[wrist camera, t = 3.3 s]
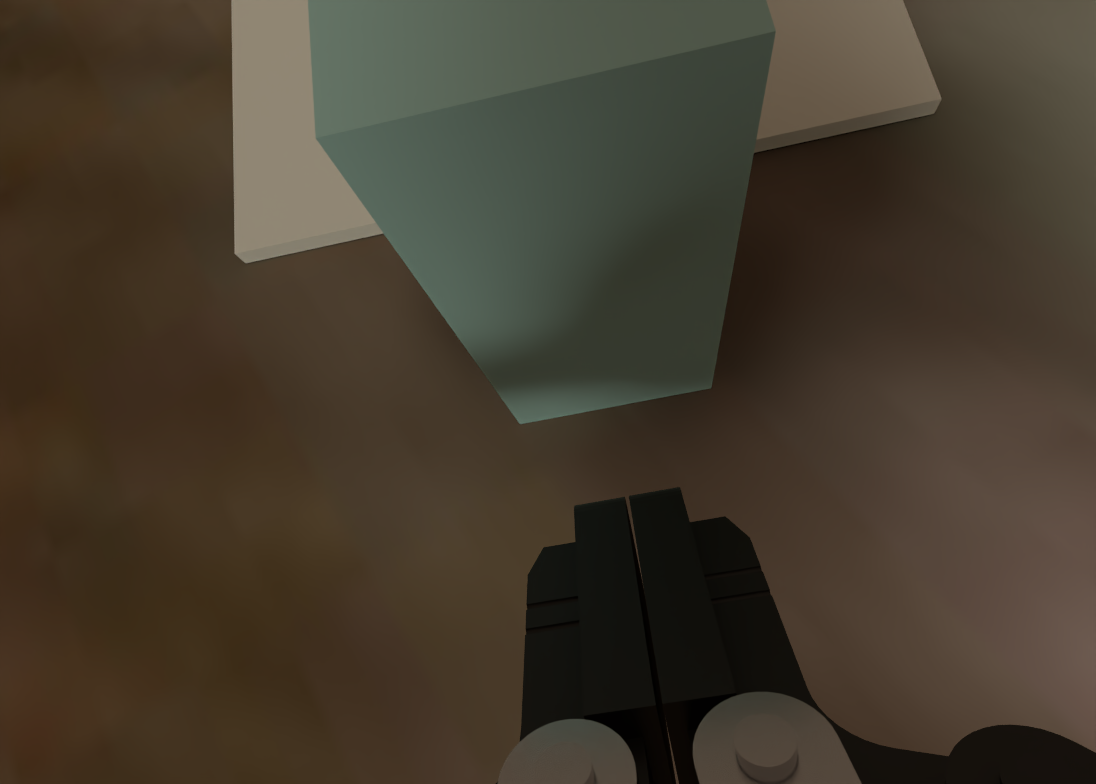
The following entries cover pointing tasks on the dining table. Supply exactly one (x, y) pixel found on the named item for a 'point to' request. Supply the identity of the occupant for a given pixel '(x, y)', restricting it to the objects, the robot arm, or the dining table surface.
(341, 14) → the teal block
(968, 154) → the dining table surface
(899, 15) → the cream mat
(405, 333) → the dining table surface
